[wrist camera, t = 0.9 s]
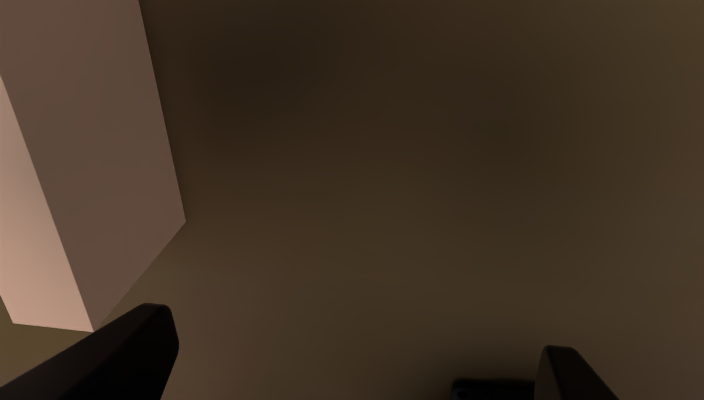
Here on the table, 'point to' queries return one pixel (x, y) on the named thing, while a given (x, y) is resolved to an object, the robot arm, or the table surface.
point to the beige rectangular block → (79, 160)
